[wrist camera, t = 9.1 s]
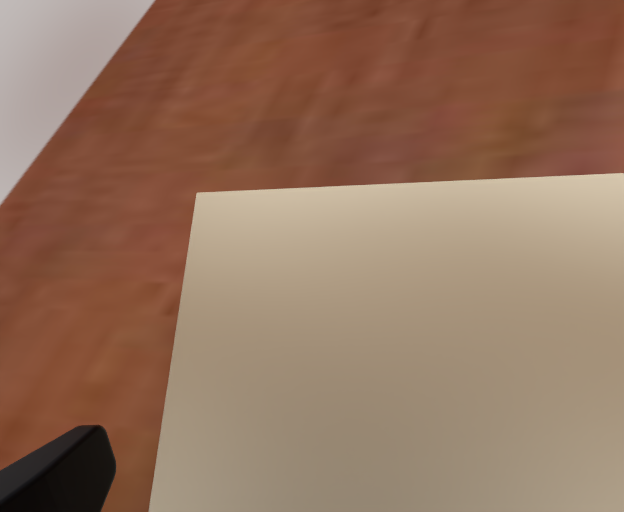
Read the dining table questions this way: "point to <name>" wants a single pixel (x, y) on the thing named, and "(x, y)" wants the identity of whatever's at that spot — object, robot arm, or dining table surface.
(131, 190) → the dining table surface
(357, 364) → the birch pillar
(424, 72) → the dining table surface
